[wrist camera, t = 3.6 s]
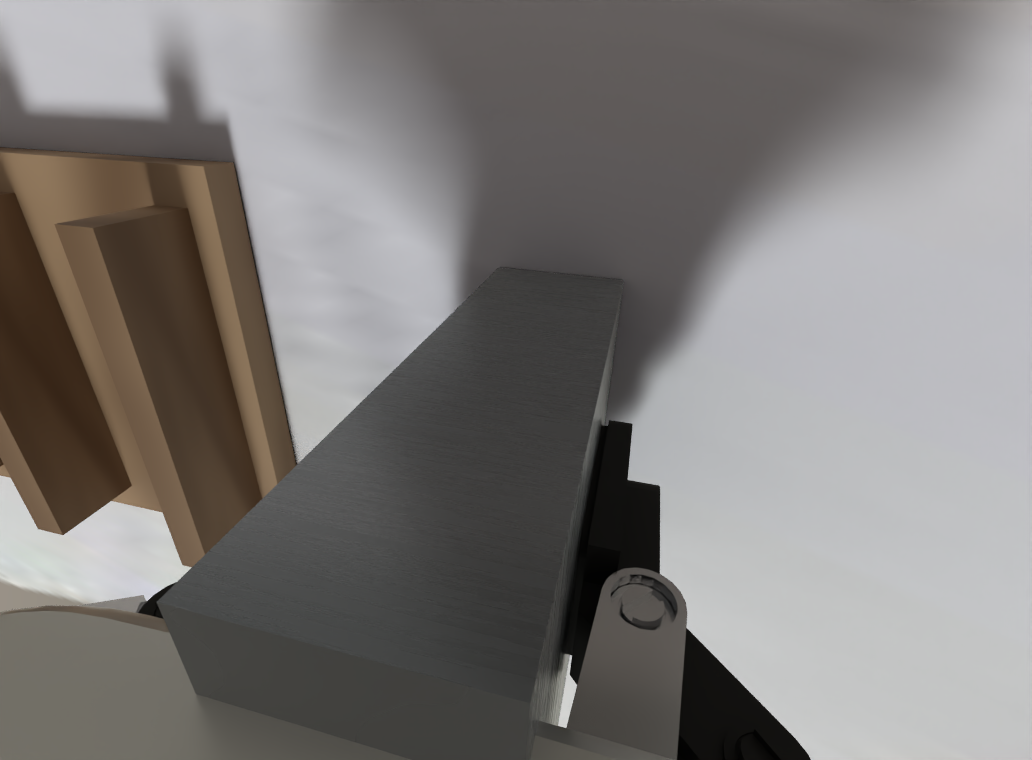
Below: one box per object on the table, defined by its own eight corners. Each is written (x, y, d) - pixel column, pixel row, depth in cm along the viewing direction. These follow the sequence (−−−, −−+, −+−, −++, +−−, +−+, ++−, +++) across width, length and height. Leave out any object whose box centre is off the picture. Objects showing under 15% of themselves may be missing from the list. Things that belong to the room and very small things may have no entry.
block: (623, 279, 12) (529, 702, 3) (589, 535, 16) (504, 1043, 7) (499, 267, 13) (156, 600, 4) (495, 516, 16) (311, 965, 8)
